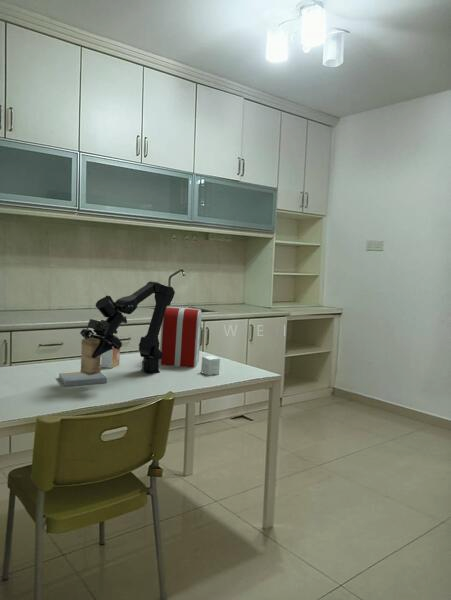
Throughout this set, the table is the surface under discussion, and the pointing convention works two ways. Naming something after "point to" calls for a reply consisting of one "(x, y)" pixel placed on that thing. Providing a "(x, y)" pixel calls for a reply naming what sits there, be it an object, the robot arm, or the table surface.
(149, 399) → the table surface
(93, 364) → the brown block
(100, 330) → the robot arm
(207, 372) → the product box
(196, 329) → the red striped box
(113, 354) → the small box
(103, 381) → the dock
